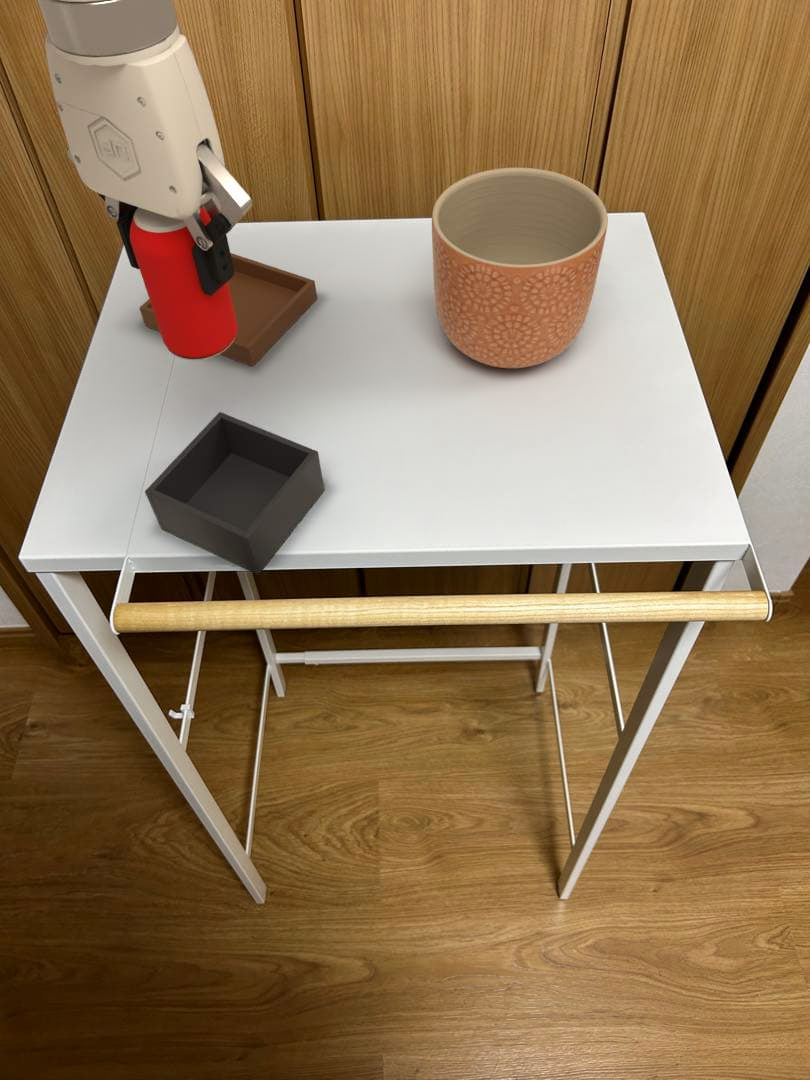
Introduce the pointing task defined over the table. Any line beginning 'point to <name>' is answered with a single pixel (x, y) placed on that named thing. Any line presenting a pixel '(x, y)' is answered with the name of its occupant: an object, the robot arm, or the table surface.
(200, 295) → the beverage can
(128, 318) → the table surface
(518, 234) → the planter
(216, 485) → the bin
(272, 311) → the tray
